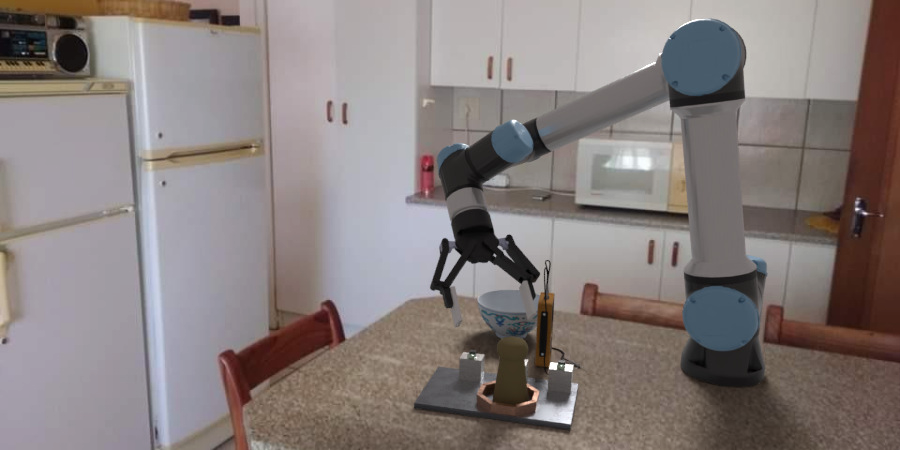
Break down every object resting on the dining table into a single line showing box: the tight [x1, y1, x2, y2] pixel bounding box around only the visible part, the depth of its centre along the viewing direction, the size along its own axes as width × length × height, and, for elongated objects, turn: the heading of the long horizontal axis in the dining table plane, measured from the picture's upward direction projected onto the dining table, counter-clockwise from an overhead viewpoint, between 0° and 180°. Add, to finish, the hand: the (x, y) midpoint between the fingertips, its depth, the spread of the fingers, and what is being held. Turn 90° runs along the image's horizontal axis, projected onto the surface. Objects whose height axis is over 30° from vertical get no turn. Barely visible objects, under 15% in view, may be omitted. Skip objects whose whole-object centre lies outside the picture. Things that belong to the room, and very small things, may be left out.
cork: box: [493, 337, 529, 405], centre depth 121 cm, size 6×6×11 cm
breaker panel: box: [413, 349, 579, 431], centre depth 124 cm, size 26×16×6 cm, turn 76°
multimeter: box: [534, 259, 588, 376], centre depth 138 cm, size 15×10×20 cm
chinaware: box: [476, 289, 540, 340], centre depth 154 cm, size 15×15×8 cm
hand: (496, 320), depth 124 cm, fingers open, 13 cm apart
